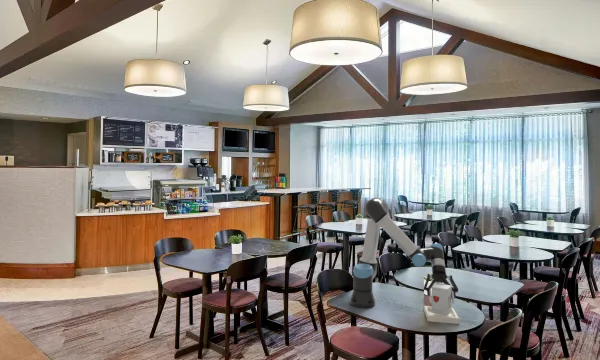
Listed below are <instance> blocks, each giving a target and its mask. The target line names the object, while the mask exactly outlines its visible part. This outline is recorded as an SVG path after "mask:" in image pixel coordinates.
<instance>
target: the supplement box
mask: <svg viewBox="0 0 600 360" xmlns="http://www.w3.org/2000/svg"><path fill="white" fill-rule="evenodd" d="M452 287H453V286H452V284H450V285H445V284H444V283H440V282H439V283H437V282H436V283H435V284H434V285H433V286H432V288H431V297H432V302H431V303H430V304H431V313H435V314H440V315H444V316H448V315H449V313H450V312H451V308H452Z"/></svg>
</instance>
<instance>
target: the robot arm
mask: <svg viewBox="0 0 600 360" xmlns="http://www.w3.org/2000/svg"><path fill="white" fill-rule="evenodd" d="M387 208H388V207H387V202H386V201H385V200H384V199H382V198H381V197H372V198H371V199H369V200H367V202H366V203H365V206H364V209H365V214H366V215H365V219H366V220H367V221H366V222H367V223H366V229H365V236H364V244H363V250H362V255H361V257H360V258H359V259H358V263H357V264H355V265H354V266H353V270H352V273H353V277H352V278H353V282H352V283H353V284H352V286H353V289H352V293H351V296H350V299H349V303H350V305H351V306H353V307H356V308H360V309H361V308H362V309H366V308H367V309H368V308H373V307H375V306H376V300H375V296H374V293H373V280H374V278H376V276H377V273H378V269H377V267H378V260H377V252H378V245H379V238H380V233H381V228H382V229H383V230H384V231H385V232H386V234H387V235H388V236H389V237H390V238H391V239H392V240H393V241H394V243H396V245H397V246H398V247H399V248H400V249H401V250H402V251H403V252H404V253H405V254H406V256H408V258H409V259H410V260H411V261H412V264H413V265H414V267H417V268H421V267H424V265H425V264H426V262H427V261H431V262H430V263H431V271H432V274H429V273H427V274H426V281H425V284H424V286H423V290H424V291H426V293H427V295H426V296H427V297H429V303H430V304H431V302H432V286H433V285H434V284H436V283H440V284H445V285H451V286H452V299H451V305H454V304H455V302H456V300H455V299H456V297H457V295H456V294H457V293H459V287H458V286H457V284H456V283H455V280H454V279H453V275H451V274H450V275H447V271H446V264H445V263H446V262H445V253H444V247H443V245H442V244H440V243H433V244H431V245H430V246H429V247H426V248H425V247H424V248H419V247H418V246H417V245H416V244H415V243H414V242H413V241H412V240H411V239H410V237H408V236H407V234H406V233H405V232H404V231H403V230H402V229H401V228H400V227H399V226H398V225H397V224H396V223H395V221H394V220H393V219H392V218H391V217H390V216H389V213H388V211H387ZM431 278H432V281H431V282H430V284H429V281H430V279H431Z"/></svg>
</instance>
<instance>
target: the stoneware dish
mask: <svg viewBox="0 0 600 360" xmlns="http://www.w3.org/2000/svg"><path fill="white" fill-rule="evenodd" d="M423 307H424V310H423V311H424V314H425V317H426V320H427V322H433V323H442V324H453V325H454V324H457V325H458V324H460V317H459V316H458V314H457V312H456V310H455V308H453V307H451V312H450V313H449V315H448V316H444V315H440V314H435V313H431V306H428V305H424V306H423Z"/></svg>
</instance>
